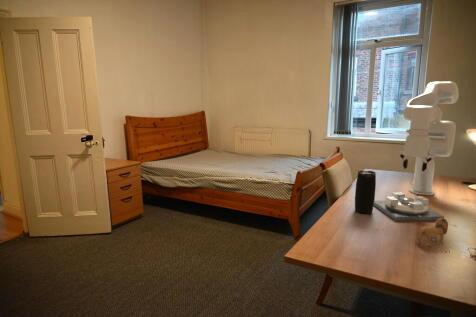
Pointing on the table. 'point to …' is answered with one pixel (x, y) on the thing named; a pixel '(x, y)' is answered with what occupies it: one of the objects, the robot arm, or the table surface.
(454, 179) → the table surface
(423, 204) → the silver hub plate
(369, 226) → the table surface
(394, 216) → the grey square base plate
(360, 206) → the portable speaker
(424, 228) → the lion figurine
